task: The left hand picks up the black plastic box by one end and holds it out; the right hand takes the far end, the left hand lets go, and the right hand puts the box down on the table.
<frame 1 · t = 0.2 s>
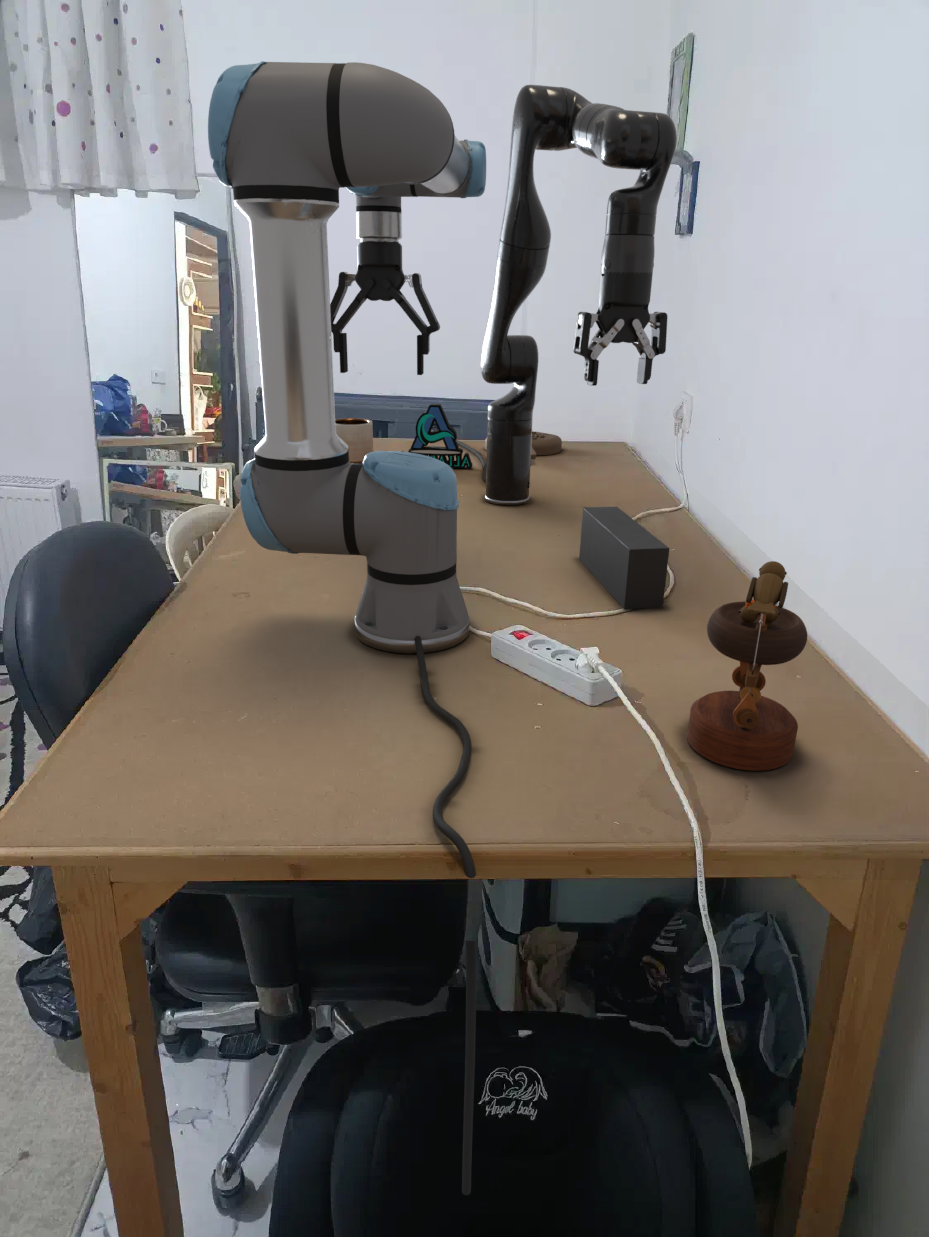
left hand: (382, 373, 149), 28 cm above the table, tool pointing down, fingers open, 13 cm apart
right hand: (616, 384, 129), 29 cm above the table, tool pointing down, fingers open, 8 cm apart
decorative sign: (433, 467, 208), on the table
ice cream bar: (525, 454, 225), on the table
dog toy: (356, 483, 191), on the table
box: (617, 581, 133), on the table
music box: (737, 741, 88), on the table
planter: (352, 460, 214), on the table
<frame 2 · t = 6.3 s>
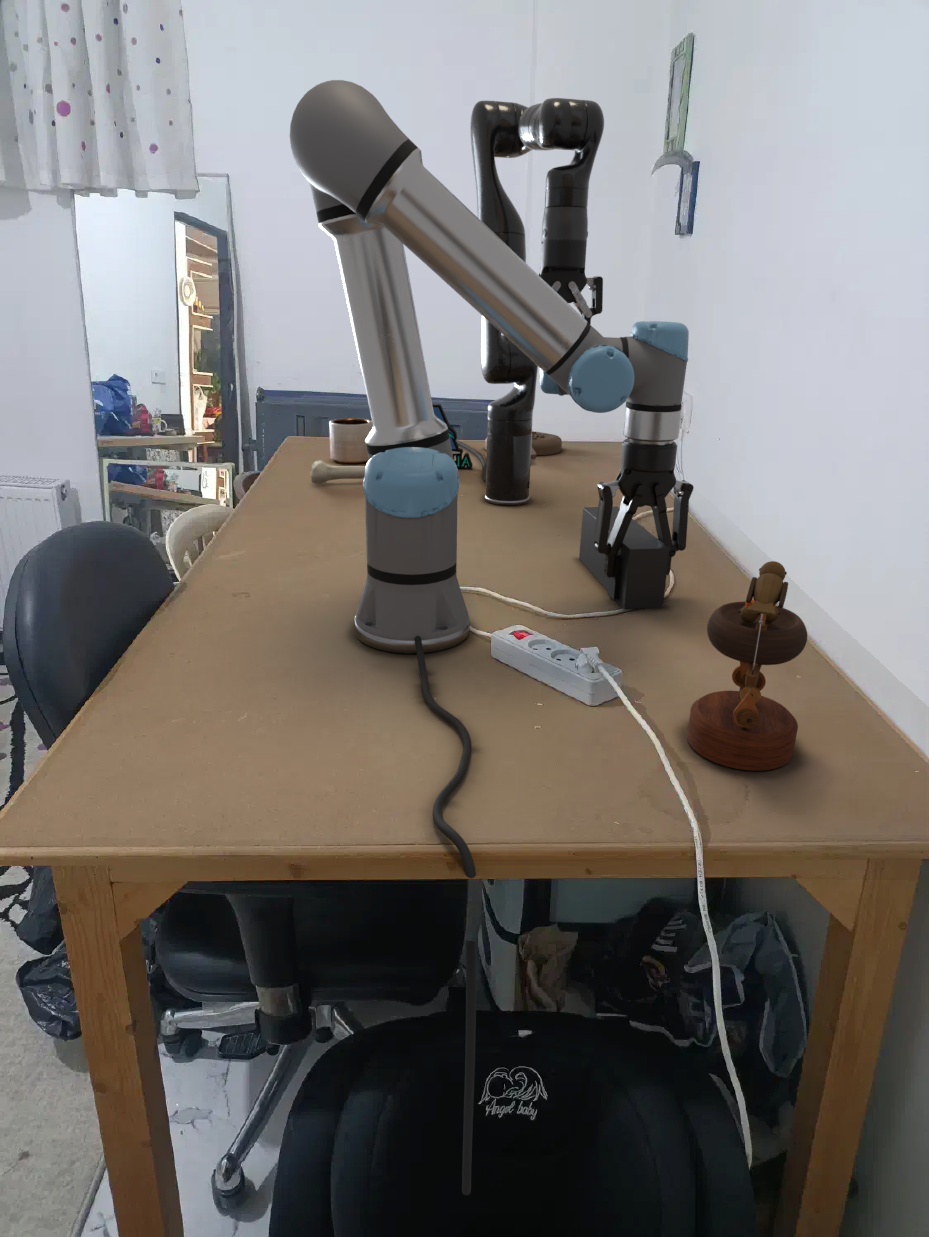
left hand: (634, 595, 126), 0 cm above the table, tool pointing down, fingers closed on box, 6 cm apart
right hand: (558, 340, 147), 34 cm above the table, tool pointing down, fingers open, 8 cm apart
box: (617, 581, 133), on the table, touching left hand
everything else where it was.
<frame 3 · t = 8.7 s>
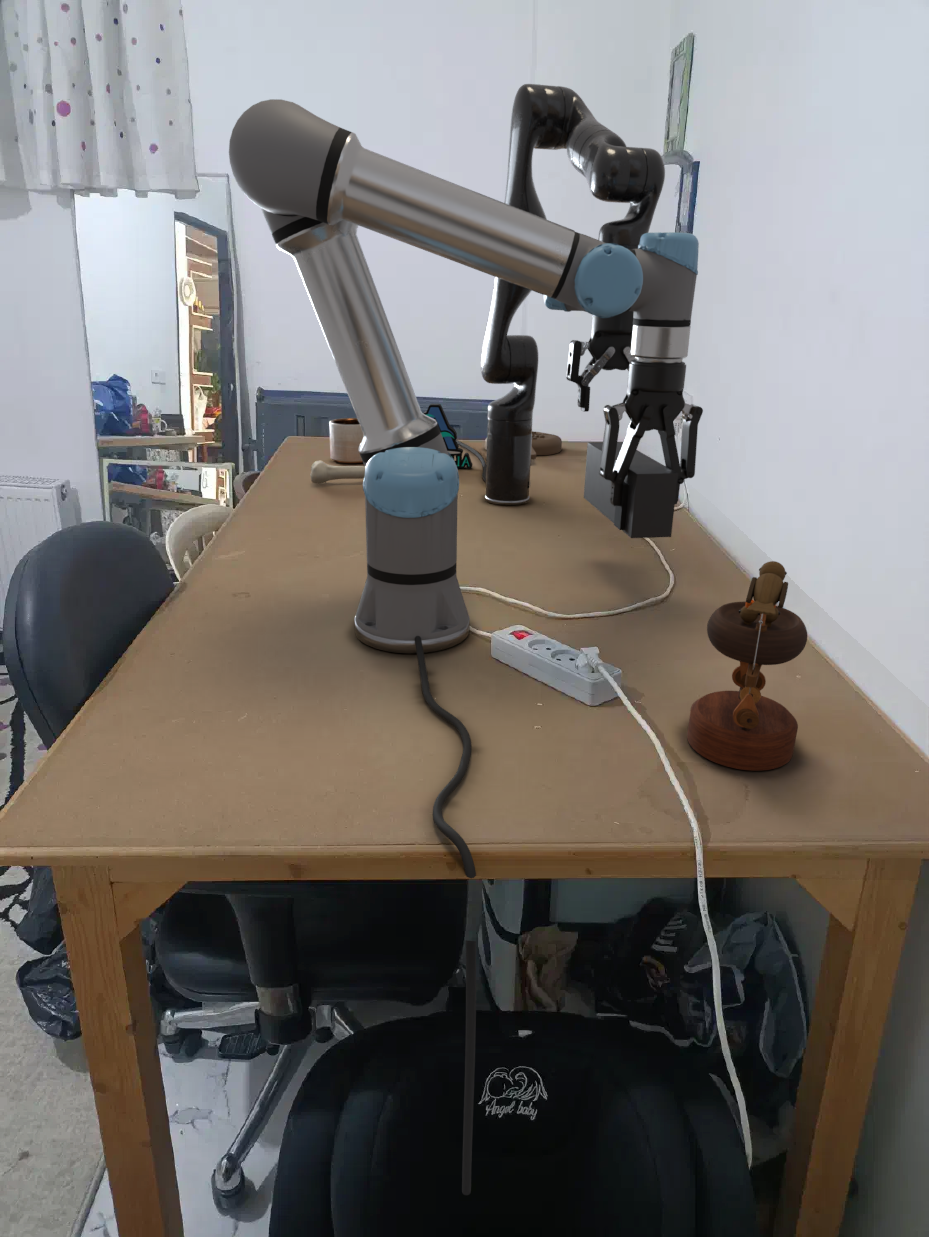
left hand: (641, 526, 122), 11 cm above the table, tool pointing down, fingers closed on box, 6 cm apart
right hand: (610, 410, 131), 25 cm above the table, tool pointing down, fingers open, 8 cm apart
box: (623, 515, 129), point 11 cm above the table, touching left hand
everything else where it was.
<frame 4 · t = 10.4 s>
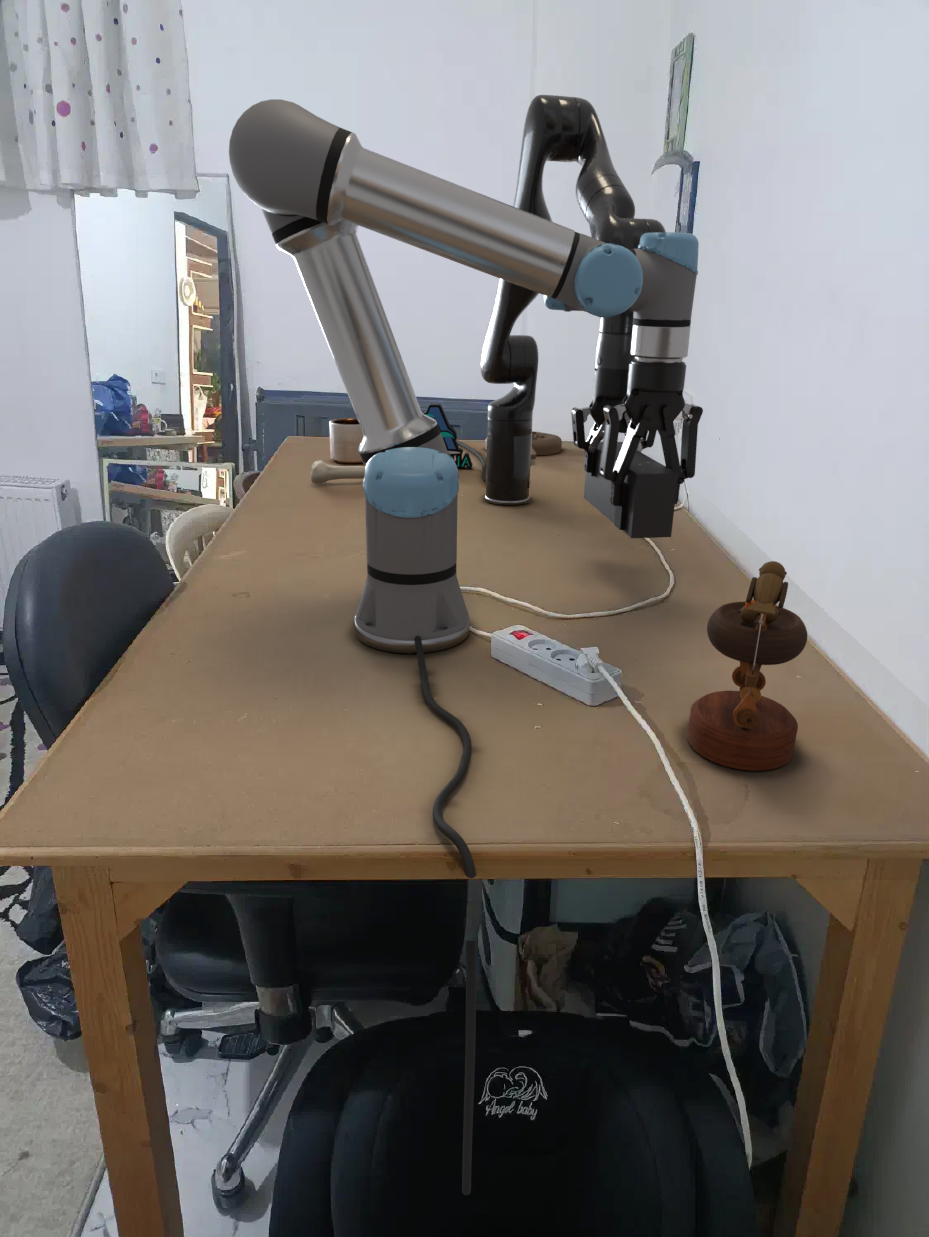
left hand: (641, 526, 122), 11 cm above the table, tool pointing down, fingers closed on box, 6 cm apart
right hand: (610, 474, 134), 15 cm above the table, tool pointing down, fingers closed on box, 6 cm apart
box: (623, 516, 129), point 11 cm above the table, touching left hand, right hand
everything else where it was.
when the left hand's fingers open (11 cm above the table, at t = 11.3 s): box stays where it is, held by the right hand.
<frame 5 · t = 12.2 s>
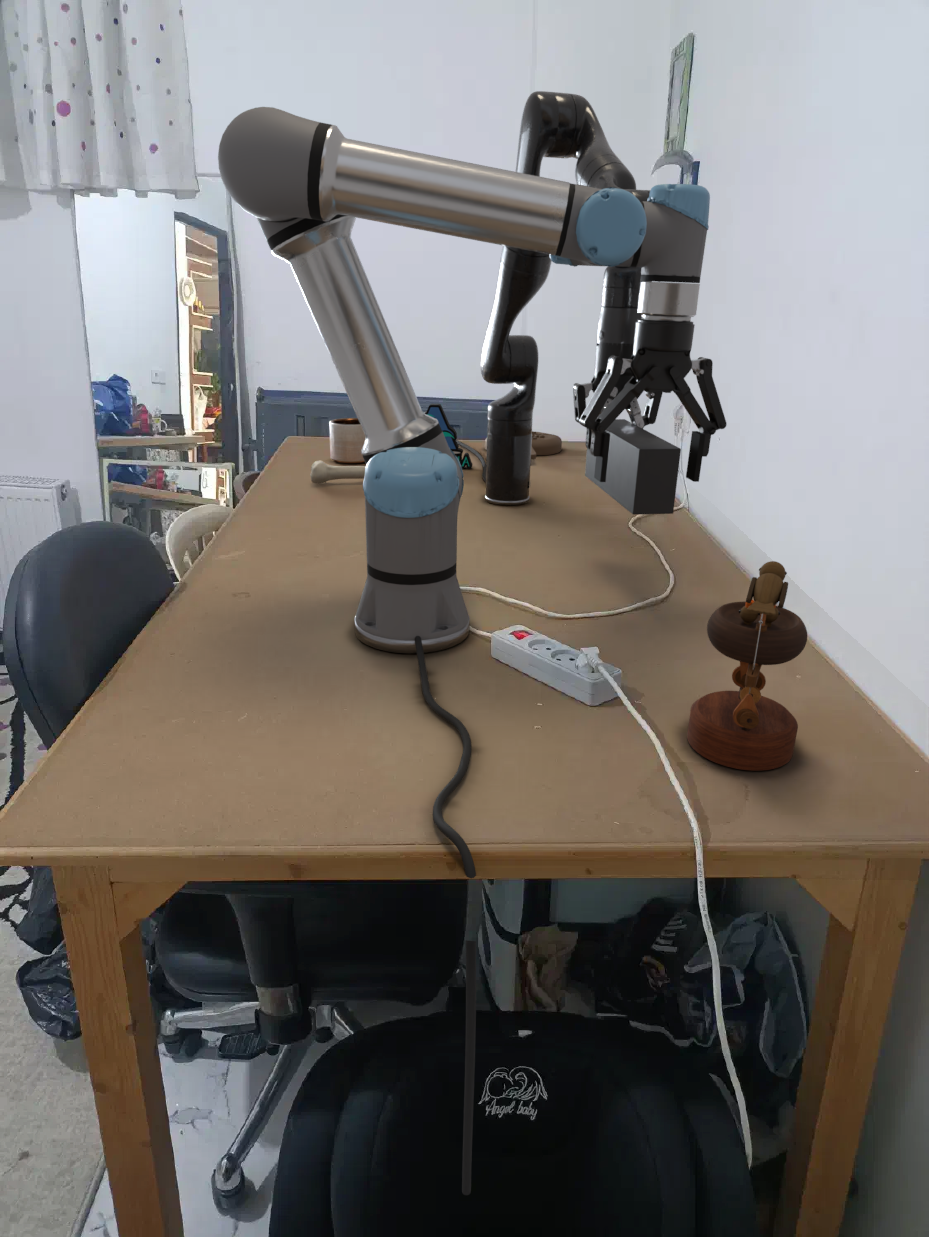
left hand: (646, 480, 118), 18 cm above the table, tool pointing down, fingers open, 13 cm apart
right hand: (612, 451, 132), 19 cm above the table, tool pointing down, fingers closed on box, 6 cm apart
box: (625, 493, 127), point 14 cm above the table, touching right hand
everything else where it was.
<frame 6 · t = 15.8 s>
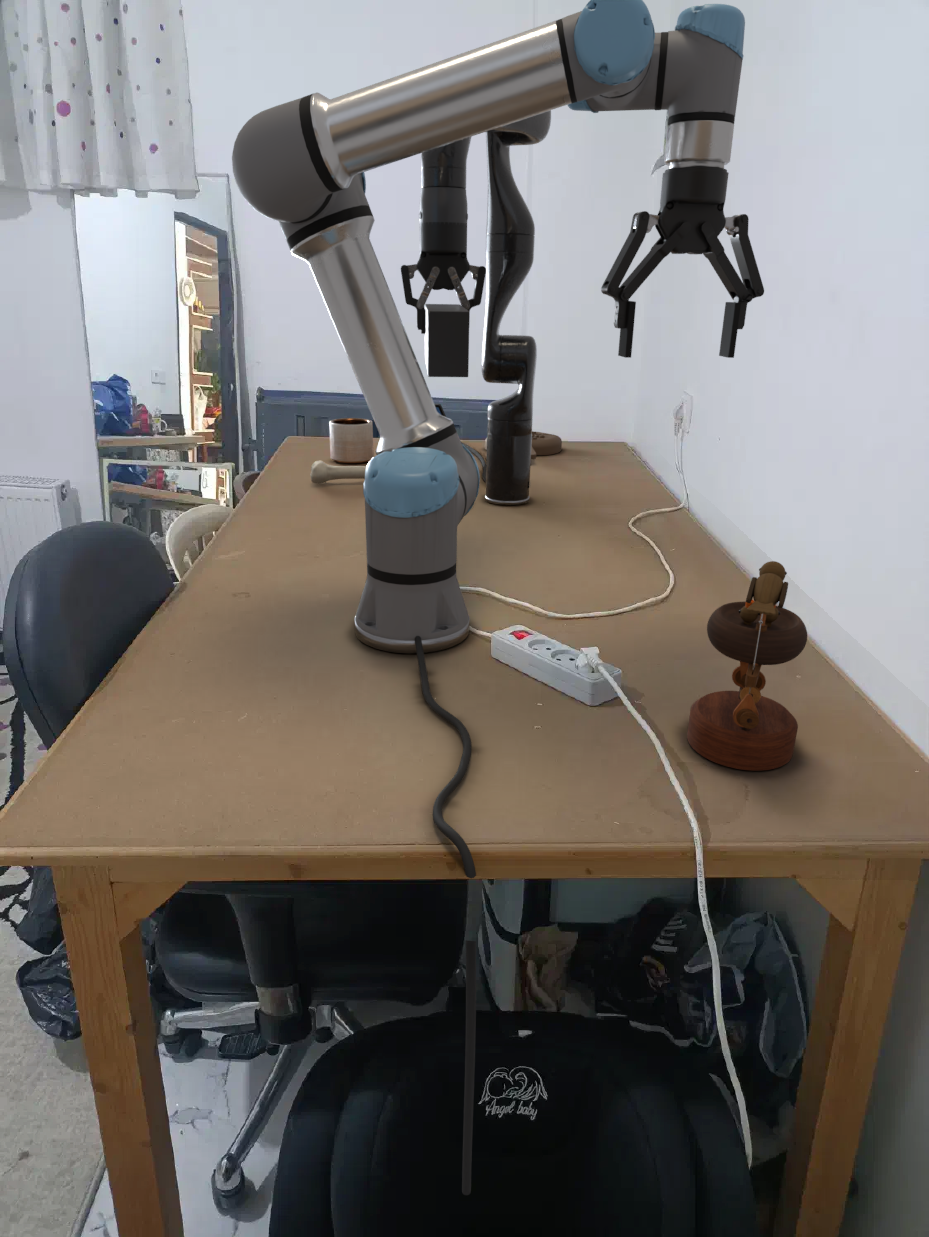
left hand: (675, 357, 107), 35 cm above the table, tool pointing down, fingers open, 13 cm apart
right hand: (442, 333, 139), 35 cm above the table, tool pointing down, fingers closed on box, 6 cm apart
box: (444, 368, 134), point 30 cm above the table, touching right hand
everything else where it was.
when the right hand's fingers open (6 cm above the table, at t = 21.6 s): box drops 2 cm, on the table.
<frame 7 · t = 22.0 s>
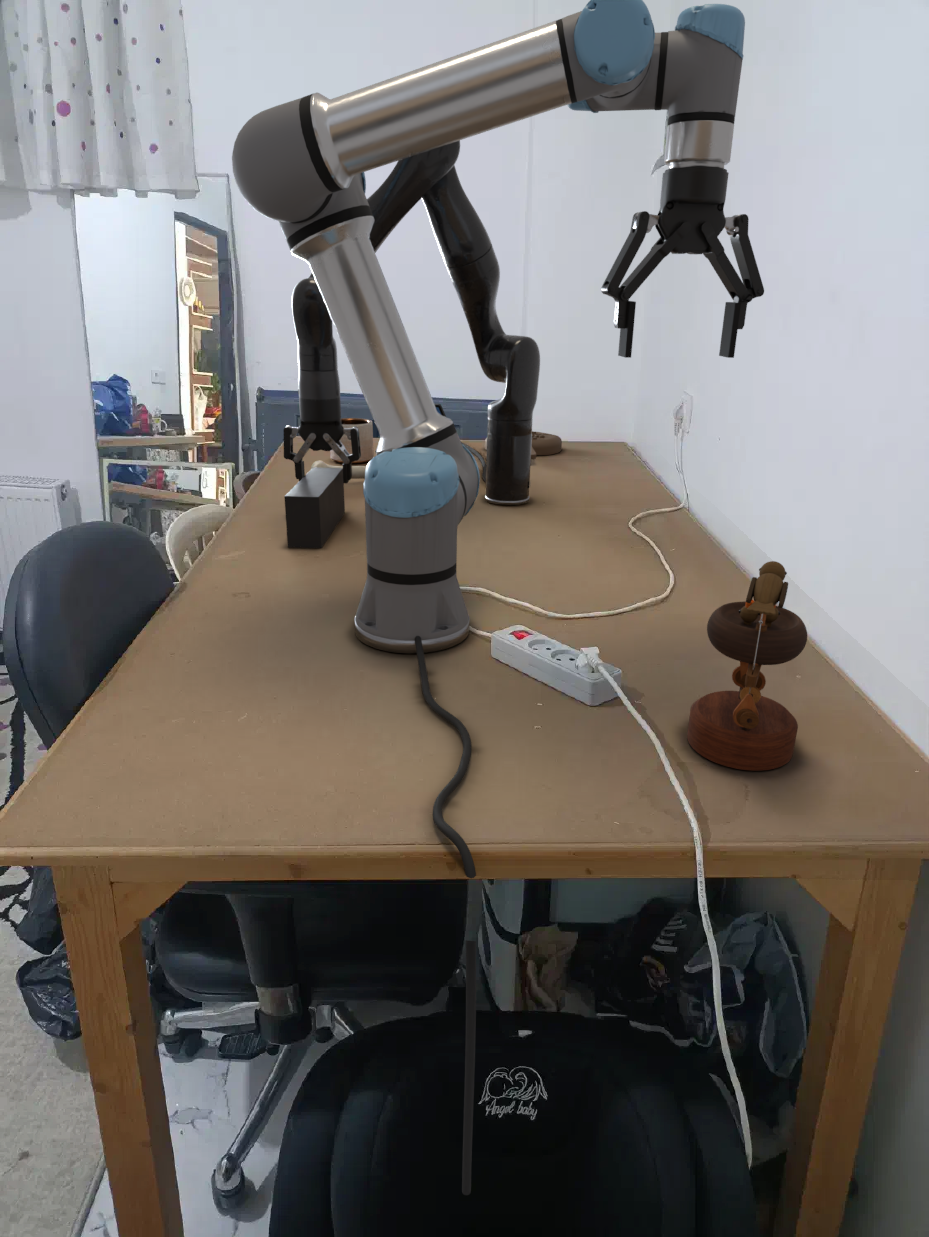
left hand: (675, 357, 107), 35 cm above the table, tool pointing down, fingers open, 13 cm apart
right hand: (323, 482, 161), 7 cm above the table, tool pointing down, fingers open, 8 cm apart
box: (318, 529, 157), on the table
everything else where it was.
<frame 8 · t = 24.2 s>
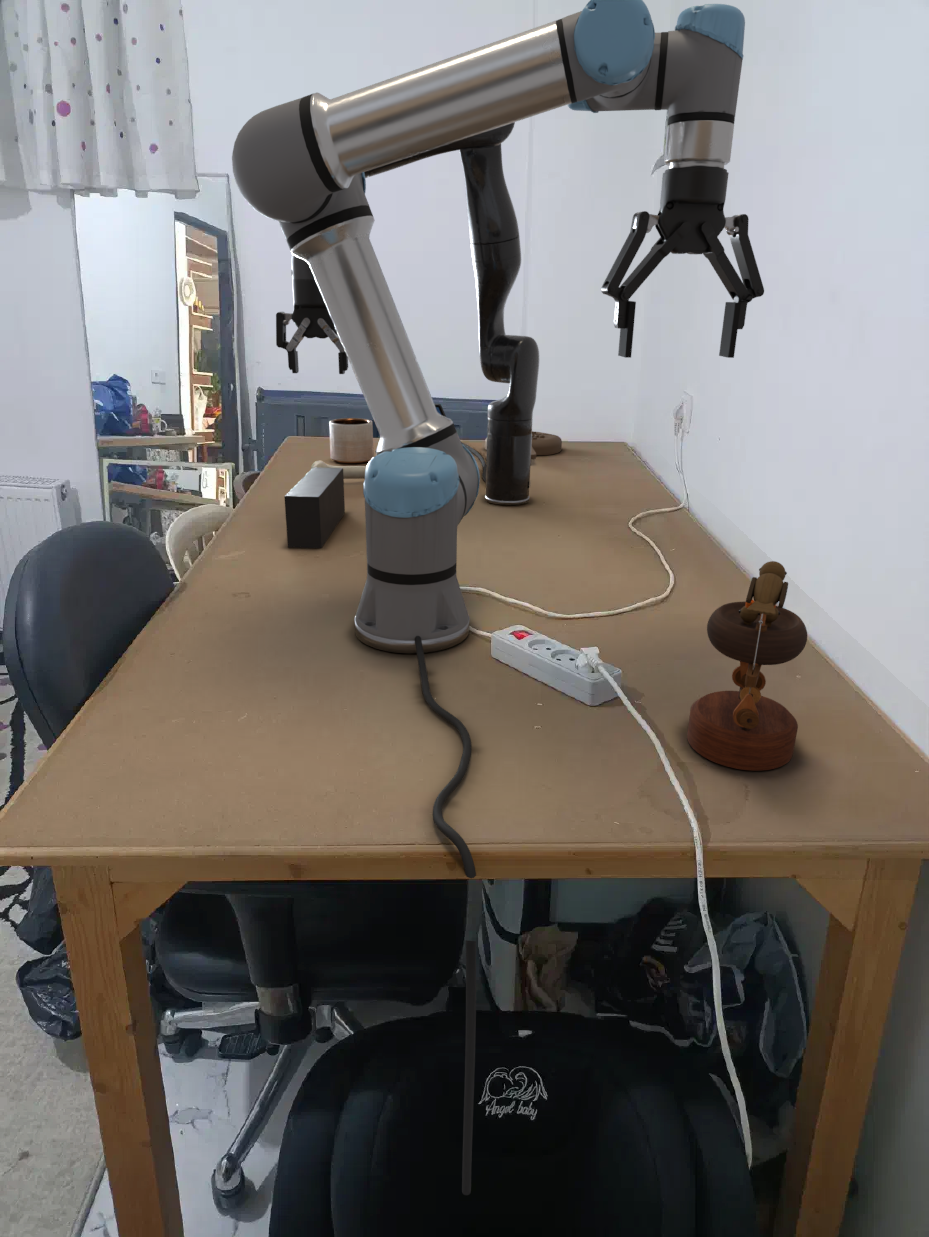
left hand: (675, 357, 107), 35 cm above the table, tool pointing down, fingers open, 13 cm apart
right hand: (318, 373, 153), 27 cm above the table, tool pointing down, fingers open, 8 cm apart
nothing on the table moved.
at the end: box inside the target area (7.4 cm from its centre), on the table; the left hand is holding nothing; the right hand is holding nothing; box at rest at the end (0.0 cm/s) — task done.
